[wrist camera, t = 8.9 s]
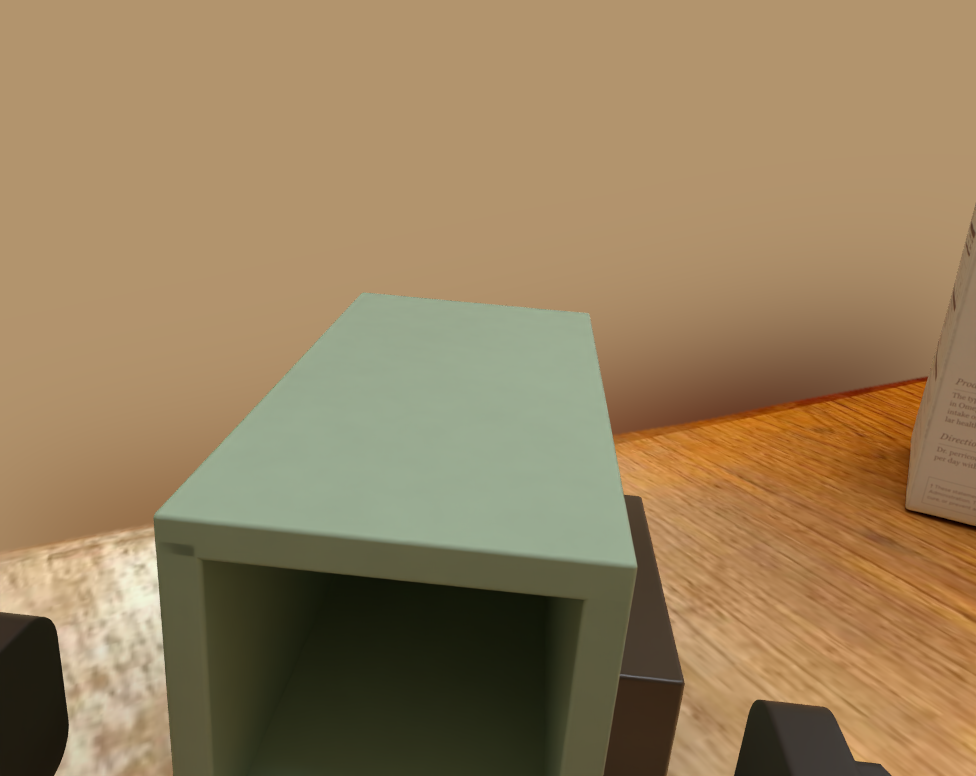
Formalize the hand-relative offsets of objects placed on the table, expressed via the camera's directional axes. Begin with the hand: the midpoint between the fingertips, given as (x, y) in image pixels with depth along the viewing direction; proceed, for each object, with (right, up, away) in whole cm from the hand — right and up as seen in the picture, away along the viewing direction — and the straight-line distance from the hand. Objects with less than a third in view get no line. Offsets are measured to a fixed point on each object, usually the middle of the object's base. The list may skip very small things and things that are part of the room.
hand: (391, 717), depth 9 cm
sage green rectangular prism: (0, -1, +5) cm, 5 cm away
